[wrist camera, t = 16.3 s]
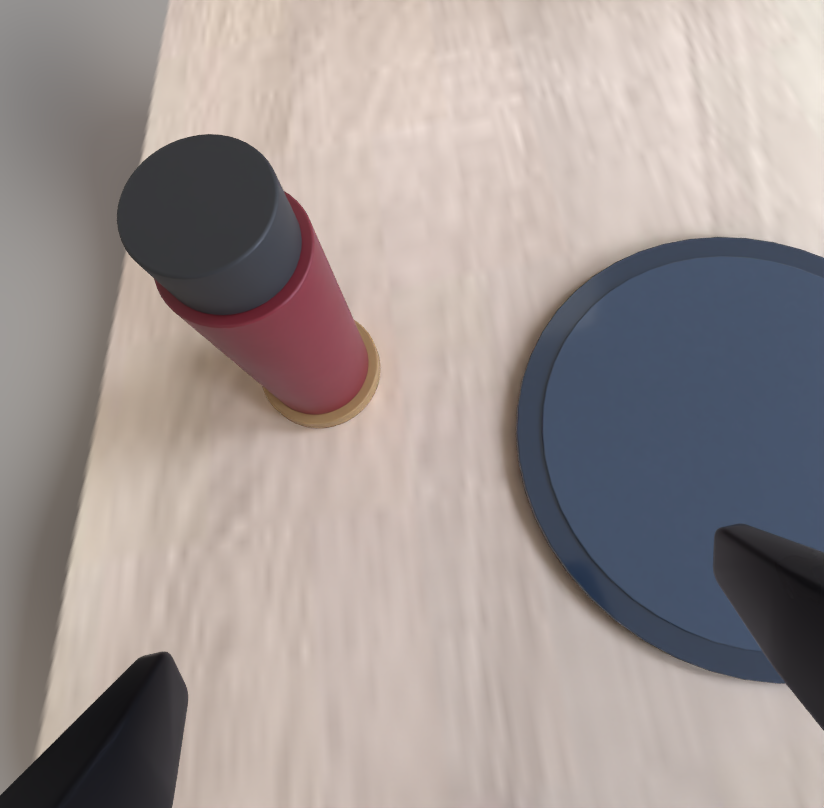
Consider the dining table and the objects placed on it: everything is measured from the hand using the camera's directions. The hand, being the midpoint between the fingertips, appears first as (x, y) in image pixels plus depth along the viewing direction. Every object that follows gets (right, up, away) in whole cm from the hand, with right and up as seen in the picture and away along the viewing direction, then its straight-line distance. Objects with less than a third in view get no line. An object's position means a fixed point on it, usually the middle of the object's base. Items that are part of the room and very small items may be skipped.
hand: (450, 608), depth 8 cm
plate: (+13, +2, +13) cm, 18 cm away
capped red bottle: (-5, +5, +15) cm, 16 cm away
